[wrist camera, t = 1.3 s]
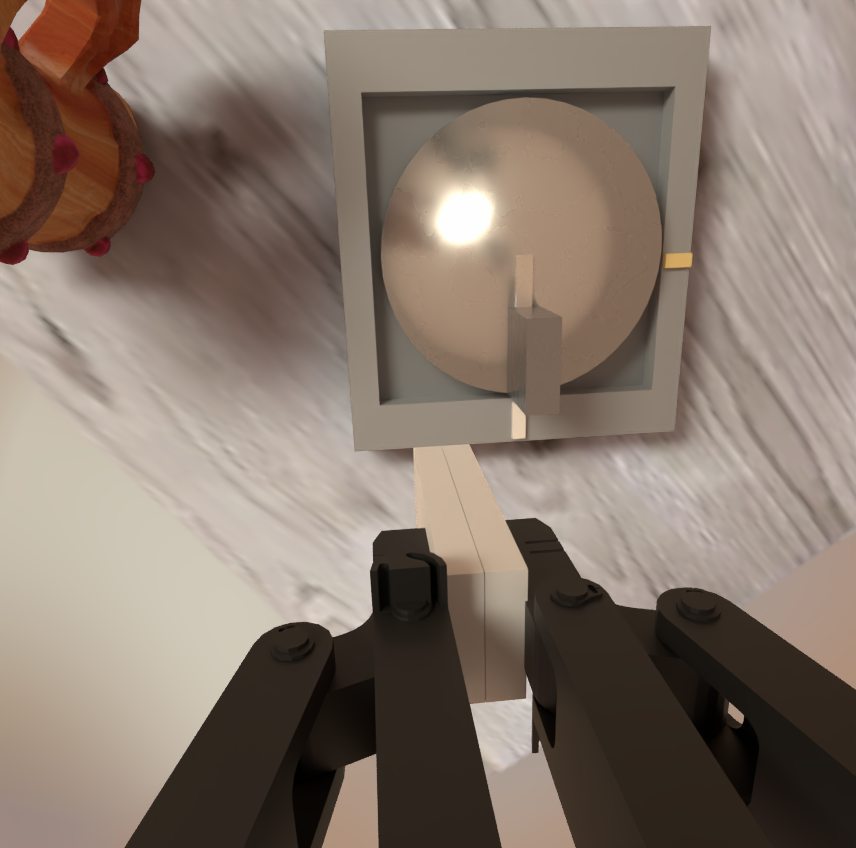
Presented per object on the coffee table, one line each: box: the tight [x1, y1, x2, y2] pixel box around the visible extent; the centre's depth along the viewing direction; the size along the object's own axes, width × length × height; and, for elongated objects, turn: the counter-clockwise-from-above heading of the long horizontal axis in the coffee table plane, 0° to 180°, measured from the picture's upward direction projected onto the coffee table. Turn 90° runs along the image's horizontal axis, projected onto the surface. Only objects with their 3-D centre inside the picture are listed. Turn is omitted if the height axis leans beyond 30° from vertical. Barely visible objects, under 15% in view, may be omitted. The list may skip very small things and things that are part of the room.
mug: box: [0, 0, 155, 265], centre depth 24 cm, size 15×8×15 cm, turn 143°
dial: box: [381, 97, 662, 416], centre depth 30 cm, size 14×14×6 cm
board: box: [324, 26, 711, 451], centre depth 33 cm, size 20×18×3 cm
